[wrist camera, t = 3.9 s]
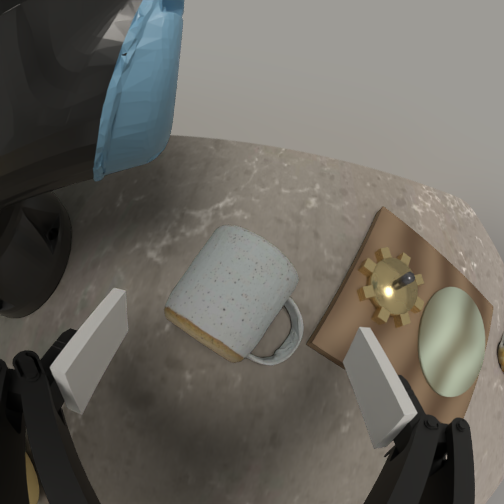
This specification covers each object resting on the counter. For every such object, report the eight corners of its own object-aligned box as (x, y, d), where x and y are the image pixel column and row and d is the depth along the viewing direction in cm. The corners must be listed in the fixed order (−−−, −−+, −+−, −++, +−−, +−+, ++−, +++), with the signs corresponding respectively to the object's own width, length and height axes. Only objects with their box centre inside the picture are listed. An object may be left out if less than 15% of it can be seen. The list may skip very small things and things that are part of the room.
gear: (343, 299, 24) (362, 287, 20) (373, 238, 27) (391, 221, 24) (403, 342, 23) (426, 336, 19) (425, 279, 26) (446, 267, 22)
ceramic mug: (165, 321, 22) (145, 302, 15) (216, 249, 26) (219, 205, 19) (269, 386, 21) (297, 396, 14) (313, 309, 25) (351, 285, 18)
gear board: (306, 344, 23) (313, 342, 21) (377, 212, 30) (385, 203, 28) (449, 430, 20) (460, 431, 18) (486, 309, 27) (495, 305, 25)
